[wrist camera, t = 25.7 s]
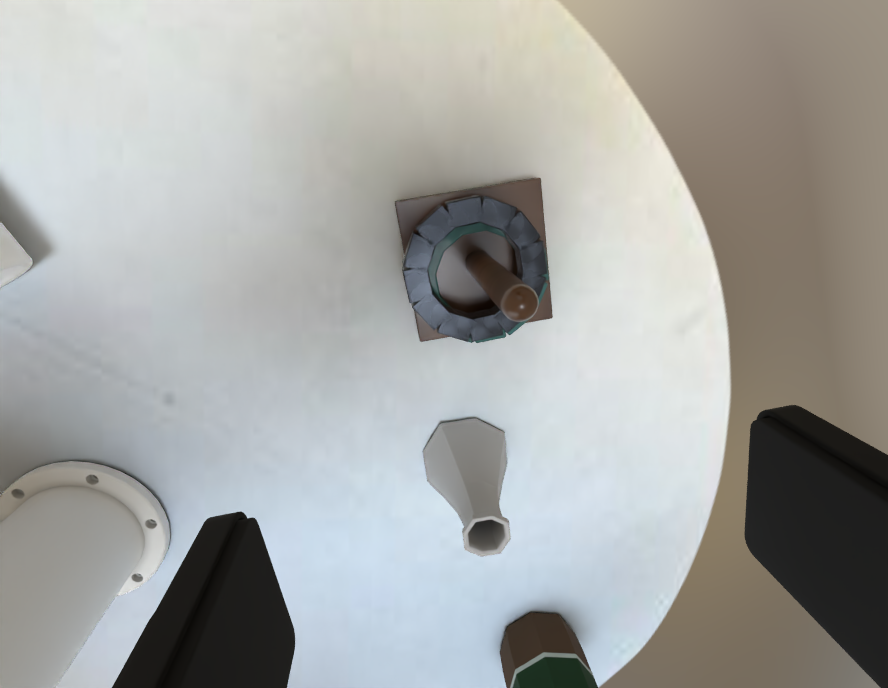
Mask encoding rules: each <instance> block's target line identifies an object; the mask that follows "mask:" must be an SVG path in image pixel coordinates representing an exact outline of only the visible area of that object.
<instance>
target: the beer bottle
mask: <svg viewBox="0 0 888 688" xmlns="http://www.w3.org/2000/svg"><path fill="white" fill-rule="evenodd" d="M500 656H501V662H502V668H503V673H504V678H505V682H506V687H507V688H598V686H597V684H596V682H595V679H594V677H593V674H592V672H591V669H590V667H589V664H588V662H587V659H586V657H585V654H584V652H583V649H582V647H581V645H580V643H579V641H578V639H577V637H576V635H575V633H574V632H573V631H572V629H571V628H570V627H569V626H568V625H567V623H566V622H565V621H564V620H563V619H562V618H561V616H560V615H558V614H550V613H533V612H530V613H529V614H527V615H526V616H524V617H522V618H521V619H519V620H517V621H516V622H514V623H513V624H511V625H509V626H508V627H507V629H506V632H505V636H504V639H503V643H502V647H501V651H500Z"/></svg>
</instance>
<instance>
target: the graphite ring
mask: <svg viewBox="0 0 888 688" xmlns="http://www.w3.org/2000/svg"><path fill="white" fill-rule="evenodd" d="M444 207H445V208H444ZM476 223H483V224H486V225H489V226H491V227H494V228H497V229H500V230H501V231H502V233H503V234H504V235H505V236H506V238H507V239H508V240H509V241H510V243H511V244H512V245H513V246H514V249H515V256H516V263H517V270H518V271H517V274H516V276H517V277H518V278H519V279H521V280H522V281H523V282H524V283H526V284H527V285H528V286H530V287H531V288H532V289H533V290H534V291H535V292H536V294H537V296H538V299H539V296H540V294H541V291H542V289H543V286H544V284H545V281H546V279H547V278H546V277H545V276H543V275H544V274H547V266H546V258H545V250H544V242H543V240H540V238H541V235H540V234H539V233H538V231H537V230H536V229H535V228H534V226H533V225H532V224H531V222H530V221H529V220H528V219H527V217H526V216H525V215H524V213H523V212H522V211H521V210H517V207H515V206H512V205H509V204H506V203H504V202H501V201H498V200H495V199H493V198H490V197H487V196H482V195H481V196H478V195H474V196H469V197H464V198H459V199H455V200H450V201H445V202H444V206H443V205H441V204H439V205H438V206H437V207H436V208H435V209H433V210H432V211H431V212H430V213H429V214H428V215H427V216H426V217H425V218H424V219H423V220H421V221H420V222H419V223H418V224H417V225H416V226H415V229H416V230H417V232H415V231H412V233H411V236H410V239H409V242H408V245H407V249H406V252H405V255H404V258H403V261H402V263H403V267H402V271H403V276H404V280H405V284H406V289H407V293H408V298H409V302H410V303H412V308H413V309H414V310H415V311H416V312H417V313H418V314H419V315H420V316H421V317H422V318H423V320H424V321H425V322H426V323H427V324H428V325H429V326H430V327H431V328H432V329H433V330H435V329H437V332H438V333H440V334H443V335H447V336H450V337H453V338H457V339H460V340H463V341H467V342H468V341H469V338H470V339H471V341H472V342H474V341H478V340H483V339H488V338H492V337H497V336H501V335H503V329H504V331H505V332H506V333H508V332H509V331H510V330H512V329H513V328H514V327H515V326H516V325H517V324H519V323H520V322H516V321H512V320H510V319H508V318H507V317H506V316H505V315H504V314H503V312H502V311H501V310H500V309H499V308H498V307H497V305H494V306H493V307H492V308H490V309H485V310H481V311H476V312H472V313H467V312H464V311H460V310H457V309H454V308H451V307H448V306H446V305H445V304H444V303H443V302H442V300H441V299H440V298H439V297H438V296H437V295H436V294H435V293H434V292H433V291H432V287H431V282H430V277H429V272H428V268H429V265H430V262H431V259H432V256H433V253H434V250H435V247H436V245H437V244H438V243H439V242H440V241H441V240H443V239H444V238H445V237H446V236H447V235H448V234H449V233H450V232H451V231H453V230H454V229H455V228H457V227H462V226H467V225H471V224H476ZM502 328H503V329H502Z"/></svg>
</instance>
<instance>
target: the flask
mask: <svg viewBox="0 0 888 688" xmlns="http://www.w3.org/2000/svg"><path fill="white" fill-rule="evenodd" d="M423 455H424V462H425V468H426V475H427V481H428V482H429V483H430V485H431V486H432V487H433V488H434V489H435V490H436V491H438V492H439V493H440V494H441V495H442V496H443V497H444V498H445V500H446V501H447V502H448V503H449V504H450V505H451V506H452V507H453V509H454V510H455V511H456V512H457V513H458V515H459V517H460V519H461V521H462V523H463V525H464V528H463V531H462V533H463V540H464V548H465V550H466V551H469V552H471V553H474V554H476V555H479V556H481V557H482V556H488V555H494V554H500V553H501V552H502V550H503V549H504V548H505V546H506V545H507V543H508V542H509V540H510V539H511V538H510V527H509V521H508V519H506V518H504V517H502V514H501V511H500V508H499V500H500V494H501V488H502V483H503V479H504V475H505V471H506V466H507V454H506V443H505V432H503V431H501V430H498V429H496V428H494V427H492V426H490V425H488V424H486V423H484V422H482V421H480V420H478V419H476V418H473V419H467V420H460V421H454V422H447V423H441V424H440V425H439V426H438V428H437V430H436V431H435V433H434V435H433V436H432V438H431V439H430V441H429V443H428V444H427V446H426V447H425V449H424V451H423Z"/></svg>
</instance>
